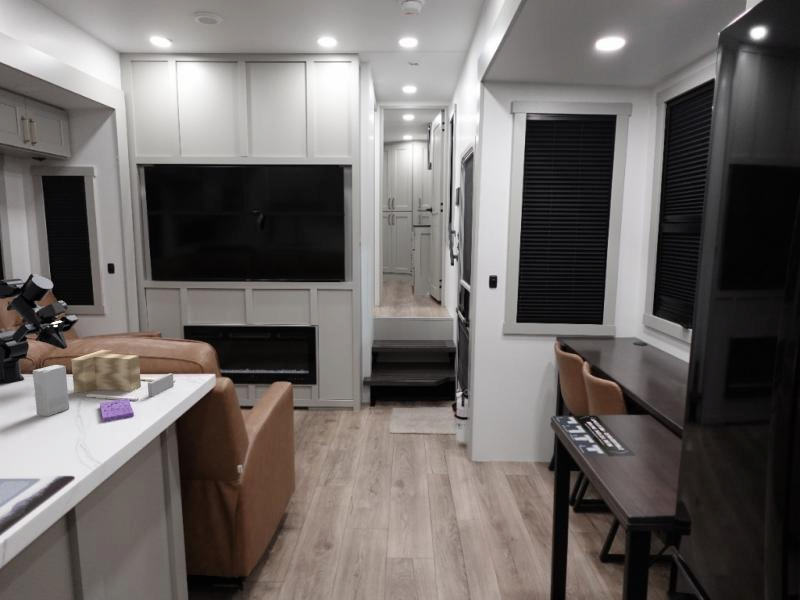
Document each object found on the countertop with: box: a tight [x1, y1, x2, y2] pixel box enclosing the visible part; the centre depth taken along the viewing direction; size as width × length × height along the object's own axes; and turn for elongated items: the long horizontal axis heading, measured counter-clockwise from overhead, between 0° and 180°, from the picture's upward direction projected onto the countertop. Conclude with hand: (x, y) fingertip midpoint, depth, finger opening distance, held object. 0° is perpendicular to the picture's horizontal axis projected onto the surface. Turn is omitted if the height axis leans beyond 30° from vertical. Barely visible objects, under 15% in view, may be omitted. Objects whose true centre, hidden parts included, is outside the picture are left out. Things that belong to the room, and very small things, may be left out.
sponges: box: [99, 398, 135, 423], centre depth 130 cm, size 7×13×2 cm, turn 34°
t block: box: [70, 349, 142, 394], centre depth 149 cm, size 16×12×10 cm
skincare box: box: [32, 364, 70, 417], centre depth 128 cm, size 6×4×12 cm
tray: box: [86, 372, 176, 402], centre depth 148 cm, size 18×18×4 cm
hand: (65, 348), depth 150 cm, fingers closed
